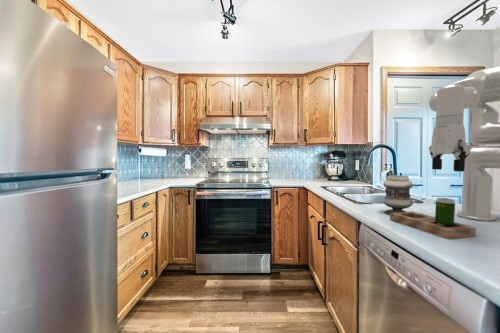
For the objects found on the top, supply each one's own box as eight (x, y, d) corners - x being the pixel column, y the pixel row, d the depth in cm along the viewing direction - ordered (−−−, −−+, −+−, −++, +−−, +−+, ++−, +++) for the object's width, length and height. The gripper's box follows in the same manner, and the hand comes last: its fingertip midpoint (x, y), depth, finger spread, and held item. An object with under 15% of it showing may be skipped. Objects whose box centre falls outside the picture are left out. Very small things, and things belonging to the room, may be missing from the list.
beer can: (450, 235, 83) (452, 201, 83) (431, 231, 88) (433, 198, 87) (456, 232, 86) (457, 199, 85) (437, 228, 91) (439, 197, 90)
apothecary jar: (378, 210, 121) (379, 174, 120) (404, 211, 119) (405, 174, 118) (388, 216, 109) (390, 176, 108) (417, 217, 107) (419, 177, 106)
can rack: (389, 220, 103) (390, 213, 103) (412, 218, 106) (412, 211, 106) (448, 239, 80) (449, 230, 79) (475, 236, 82) (476, 227, 82)
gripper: (421, 124, 94) (419, 168, 95) (459, 118, 76) (457, 172, 77) (440, 124, 94) (439, 168, 94) (483, 118, 76) (480, 172, 77)
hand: (447, 170), depth 86 cm, fingers open, 9 cm apart
